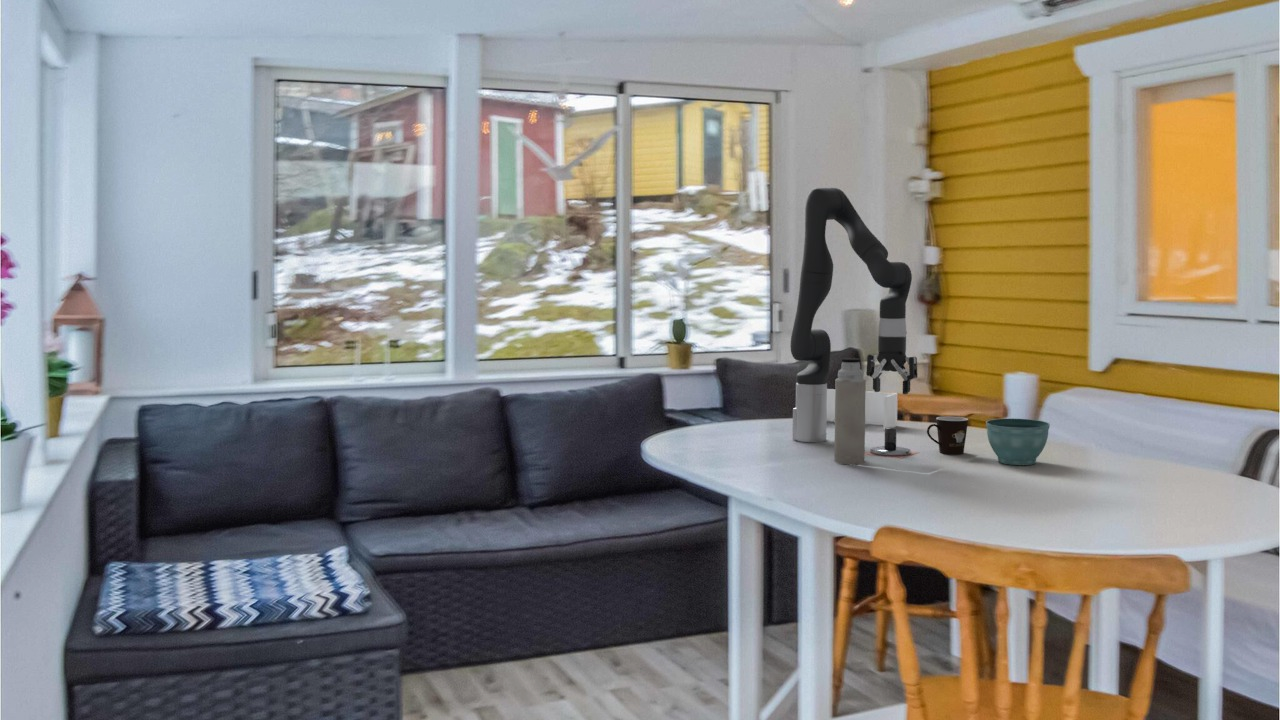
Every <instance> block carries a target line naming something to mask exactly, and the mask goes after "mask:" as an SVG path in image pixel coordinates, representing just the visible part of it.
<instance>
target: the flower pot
mask: <svg viewBox="0 0 1280 720" xmlns="http://www.w3.org/2000/svg"><path fill="white" fill-rule="evenodd" d="M985 425H986V434H987V439H988V442H989V446H990V447H991V449H992V451H993V453H995V455H996V456H997V460H998V462H999V463H1000V464H1005V465H1010V466H1011V465H1012V466H1030V465H1035V464H1036V463H1037V458H1038V457H1040V455H1041V454H1042V452H1043V450H1044V448H1045V446H1046V444H1047V440H1048V437H1049V430H1050V427H1051V424H1050V422H1048V421H1044V420H1038V419H1030V418H1029V419H1028V418H995V419H989V420H987V421H985Z"/></svg>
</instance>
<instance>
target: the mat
mask: <svg viewBox="0 0 1280 720" xmlns="http://www.w3.org/2000/svg"><path fill="white" fill-rule="evenodd" d="M919 453H920V452H919V451H912V450H911V454H910V455H907V456H897V457H891V456H881V457H883V458H891V459H899V460H900V459H904V458H907V457H911V456H913V455H917V454H919ZM865 456H873V457H874V456H875V457H880V456H879V455H874V454H871V453H870V450H869V451H865Z"/></svg>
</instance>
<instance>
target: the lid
mask: <svg viewBox="0 0 1280 720" xmlns="http://www.w3.org/2000/svg"><path fill="white" fill-rule="evenodd" d="M869 451H870V453H871V454H874V455H879V456H878V457H882V456H891V457H897V456H907V455H910V454H911V451H912V450H911V449H910V448H908V447H902V446H897V428H896V427H894V428H893V427H887V428H885V430H884V445H882V446H873V447H870V449H869ZM874 455H873V456H874ZM891 457H890V458H891ZM907 457H908V456H907Z"/></svg>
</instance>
